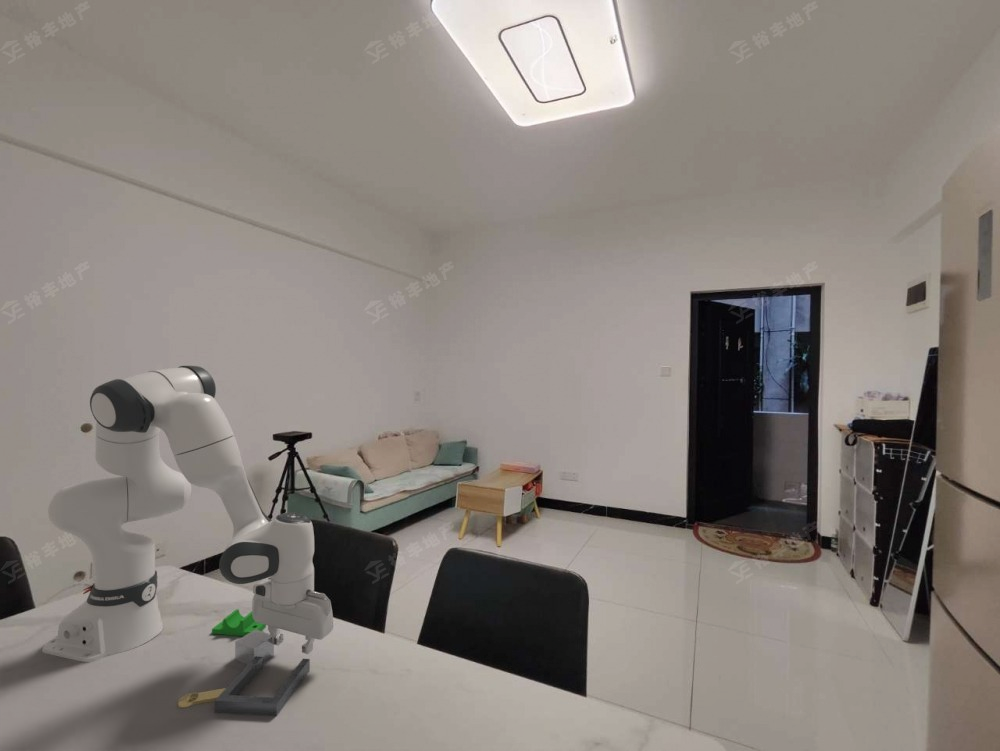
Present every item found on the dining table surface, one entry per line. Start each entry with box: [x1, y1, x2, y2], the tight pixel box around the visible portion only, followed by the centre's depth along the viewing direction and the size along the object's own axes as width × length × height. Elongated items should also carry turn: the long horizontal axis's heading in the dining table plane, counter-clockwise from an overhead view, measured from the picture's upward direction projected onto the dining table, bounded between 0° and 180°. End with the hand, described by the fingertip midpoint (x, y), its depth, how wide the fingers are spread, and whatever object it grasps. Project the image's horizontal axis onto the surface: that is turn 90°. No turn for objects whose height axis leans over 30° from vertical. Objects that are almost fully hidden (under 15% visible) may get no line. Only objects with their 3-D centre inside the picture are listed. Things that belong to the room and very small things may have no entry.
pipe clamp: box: [211, 608, 267, 637], centre depth 107 cm, size 11×4×5 cm
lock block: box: [234, 629, 275, 665], centre depth 97 cm, size 6×5×4 cm
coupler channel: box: [214, 657, 311, 717], centre depth 87 cm, size 12×12×3 cm
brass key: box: [177, 687, 227, 709], centre depth 84 cm, size 8×3×1 cm, turn 107°
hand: (292, 647), depth 97 cm, fingers open, 7 cm apart
